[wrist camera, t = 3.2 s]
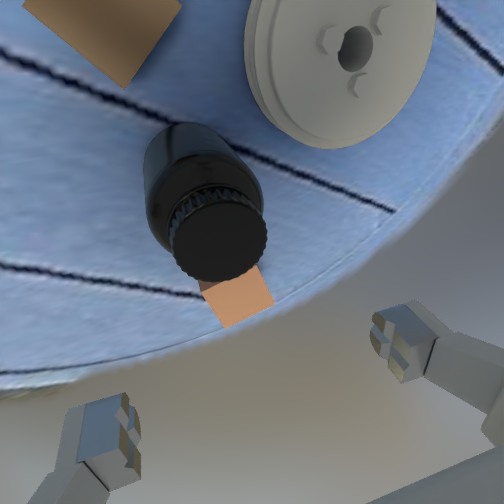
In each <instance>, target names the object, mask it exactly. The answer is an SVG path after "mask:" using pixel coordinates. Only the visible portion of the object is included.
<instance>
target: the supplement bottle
mask: <svg viewBox="0 0 504 504" xmlns="http://www.w3.org/2000/svg"><path fill="white" fill-rule="evenodd" d="M143 173H144V189H145V204H146V215H147V220H148V224H149V227H150V230H151V232H152V234H153V235H154V237H155V238H156V240H157V241H158V242H159V244H160V245H161V246H162V247H163V248H164V249H166V250H167V251H168V252H170V253H171V254H173V257H174V258H175V259H176V263H177V265H179V266H180V267H181V270H182V271H184V272H186V273H187V274H188V276H191V277H194V278H195V279H196V280H201V281H203V282H211V283H215V282H224V281H230V280H232V279H233V278H238V277H239V276H241V275H242V274H245V273H246V272H247V271H248V270H250V269H252V268H253V266H254V264H256V263H257V262H258V261H259V258H260V257H261V256H262V255H263V250H264V249H265V248H266V242H267V236H266V235H267V229H266V223H265V221H264V219H263V218H262V216H263V209H264V200H263V194H262V190H261V187H260V184H259V182H258V180H257V178H256V177H255V175H254V174H253V173H252V171H251V170H250V169H249V168H248V166H247V165H246V164H245V163H244V162H243V161H242V160H241V159H240V158H239V157H238V155H237V154H236V153H235V152H234V151H233V150H232V149H231V148H230V147H229V145H228V144H227V143H226V142H225V141H224V140H223V139H222V138H221V137H220V136H219V135H218V134H216V133H215V132H214V131H212V130H211V129H209V128H207V127H204V126H202V125H198V124H193V123H182V124H177V125H173V126H170V127H168V128H166V129H164V130H163V131H161V132H160V133H159V134H158V135H157V136H156V137H155V138H154V139H153V140H152V141H151V143H150V144H149V146H148V148H147V151H146V153H145V157H144V164H143Z"/></svg>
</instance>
